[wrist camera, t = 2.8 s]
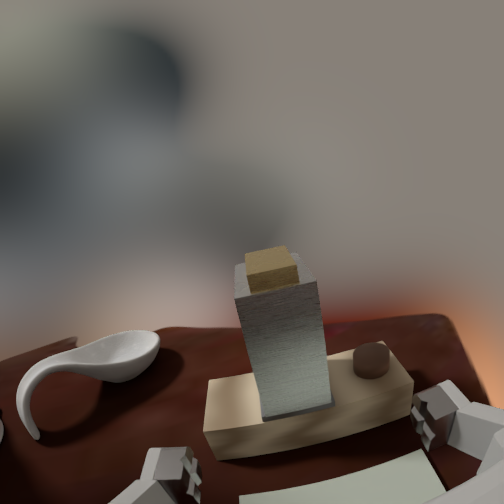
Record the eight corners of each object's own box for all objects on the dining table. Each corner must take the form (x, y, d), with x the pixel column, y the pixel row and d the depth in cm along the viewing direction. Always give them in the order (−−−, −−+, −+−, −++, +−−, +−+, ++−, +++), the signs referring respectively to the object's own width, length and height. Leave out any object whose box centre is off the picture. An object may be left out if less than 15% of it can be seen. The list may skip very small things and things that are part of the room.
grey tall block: (265, 417, 21) (229, 279, 18) (259, 366, 28) (231, 250, 25) (331, 402, 21) (313, 261, 18) (312, 354, 28) (293, 237, 25)
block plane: (217, 460, 22) (196, 417, 21) (219, 409, 29) (204, 367, 28) (409, 414, 22) (415, 366, 21) (382, 372, 29) (382, 326, 28)
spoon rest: (134, 342, 48) (119, 303, 46) (183, 356, 41) (168, 310, 40) (19, 418, 29) (-7, 375, 27) (50, 459, 23) (14, 409, 21)
